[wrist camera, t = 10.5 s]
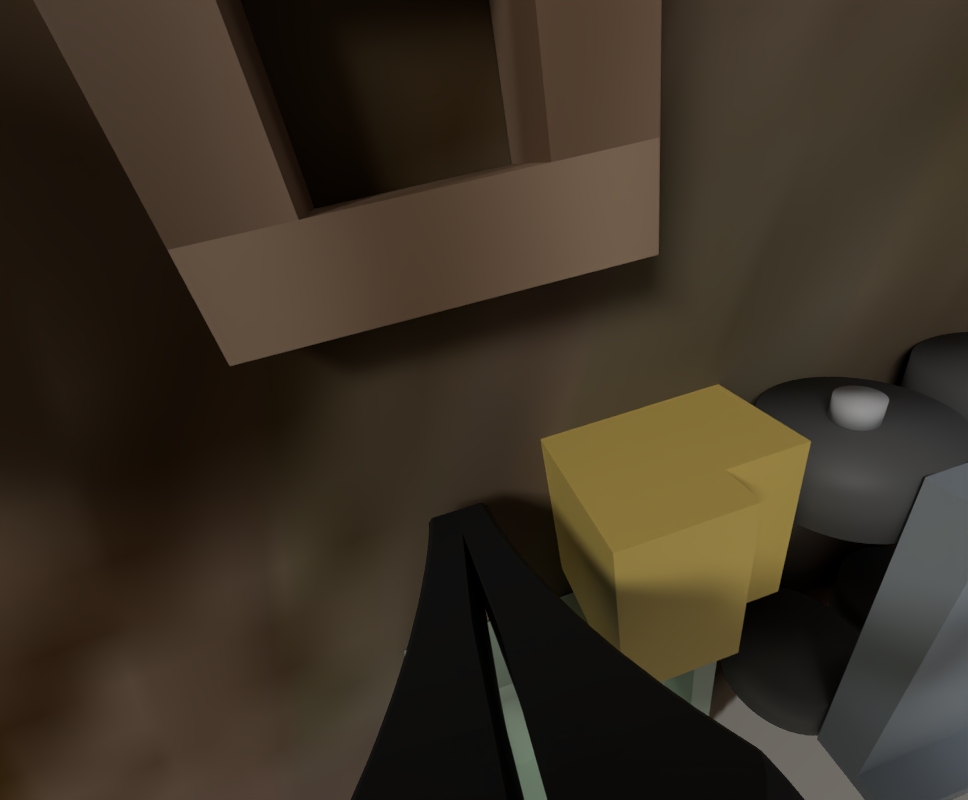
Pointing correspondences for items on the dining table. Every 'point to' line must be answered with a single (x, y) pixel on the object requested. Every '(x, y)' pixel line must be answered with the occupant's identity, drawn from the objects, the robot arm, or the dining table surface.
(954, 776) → the trolley
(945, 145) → the dining table surface
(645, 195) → the pin socket
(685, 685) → the tray
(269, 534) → the dining table surface
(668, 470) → the block
